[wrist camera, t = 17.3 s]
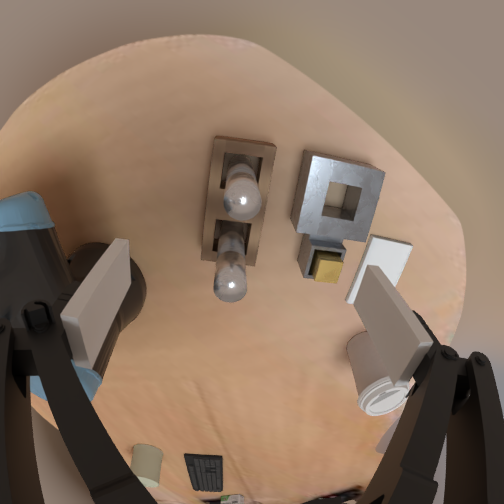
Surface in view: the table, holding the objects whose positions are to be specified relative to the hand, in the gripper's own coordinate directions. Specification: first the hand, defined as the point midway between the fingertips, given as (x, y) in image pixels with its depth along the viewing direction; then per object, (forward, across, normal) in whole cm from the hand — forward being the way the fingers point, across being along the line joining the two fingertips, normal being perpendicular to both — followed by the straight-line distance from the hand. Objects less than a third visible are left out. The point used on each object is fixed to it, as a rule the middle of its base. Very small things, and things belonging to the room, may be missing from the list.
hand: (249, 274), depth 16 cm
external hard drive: (+28, +25, -13) cm, 39 cm away
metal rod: (+27, 0, 0) cm, 27 cm away
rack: (+27, 0, -4) cm, 27 cm away
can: (+27, -18, -82) cm, 88 cm away
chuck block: (+27, +13, -4) cm, 30 cm away
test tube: (+27, 0, -8) cm, 28 cm away
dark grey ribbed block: (+28, 0, -97) cm, 101 cm away
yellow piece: (+26, +13, -10) cm, 30 cm away
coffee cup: (+27, +28, -29) cm, 48 cm away
